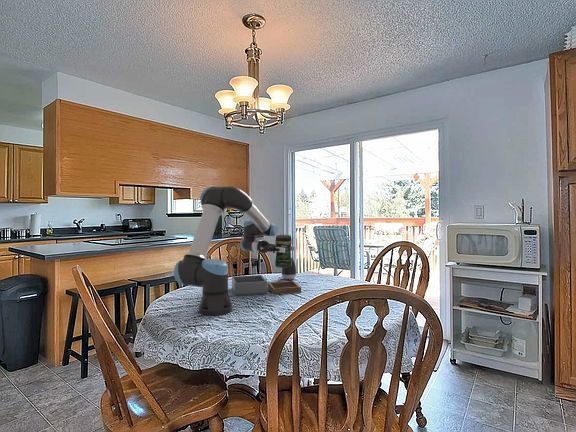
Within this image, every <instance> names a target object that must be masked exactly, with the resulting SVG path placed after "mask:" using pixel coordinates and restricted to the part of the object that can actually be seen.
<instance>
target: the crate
mask: <svg viewBox="0 0 576 432" xmlns="http://www.w3.org/2000/svg"><path fill="white" fill-rule="evenodd" d="M268 282H269V281H268V280H267V279H266V278H265V277H264V276H263V274H257V275H255V274H254V275H253V274H252V275H241V276H240V275H239V276H238V275H237V276H234V275H233V276H231V290H232V293H233V296H234V297H245V296H259V295H268V294H269V292H268V290H269V288H268Z"/></svg>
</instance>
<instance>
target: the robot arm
mask: <svg viewBox="0 0 576 432" xmlns="http://www.w3.org/2000/svg"><path fill="white" fill-rule="evenodd" d="M199 200H200V201H199V202H200V205H201V209H202V210H203V211H202V214H201V216H200V220H199V223H198V225H197V228H196V231H195V234H194V236H193V239H192V242H191V246H190V248H189V251H188V253H185V254H184V256H183V258H182V259H181V260H178V261H177V262H176V264H175V265H174V268H173V276H174V279H175V281H176V283H178V284H179V285H182V286H185V287H189V286H190V287H199V288H201V290H202V292H201V293H202V294H201V295H202V296H201V299H200V301H199V305H198V313H199V315H200V314H201V315H202V316H203V315H204V316H211V317H212V316H213V317H215V316H223V315H227V314H229V313H231V312H232V310H233V305H232V301H231V298H230V295H229V268H228V263H227V262H226V261H224V260H221V259H218V258H217V259H216V258H215V259H213V258H207V255H208V253H209V252H208V251H209V249H210V246H211V243H212V241H213V237H214V233H215V230H216V227H217V226H218V225H217V224H218V222H219V218H220V216H223V214H224V212H225V210H227V209H234V210H237V211H238V212H239V213H240V214H241V213H242V214H243V215H245V217H246V218H247V219H248V220H244V221H243V239H241V240H240V242H239V247H240V249H241V250H243V251H246V252H252V253H253V252H254V253H257V254H259V253H261V254H266V253H269V252H270V253H273V254H274V253H275V254H276V252H282V253H285V248H283V247H277V246H276V243H269V242H268V241H267V240H263V239H262V240H261V239H256V238H257V237H258V236H259V237H261V236H262V237H276V236H277V235H278V232H279V230H278V229H279V228H278V225H277V224H275V223H271V222H270V221H269V220H268V219H267V218H266V217H265V216H264V214H263V213H262V212H261V211H260V210H259V209H258V208H257V206H256V205H255V204H254V201H253V199H252V198H251V197H250V196H249V194H247V193H246V192H244V191H243V190H242V189H240V188H238V187H236V186H232V185H231V186H230V185H228V186H209V187H206V188H204V189H203V190H202V191H201V193H200V197H199ZM292 251H293V252H295V251H296V246H295V245H291V252H292Z"/></svg>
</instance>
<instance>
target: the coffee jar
mask: <svg viewBox="0 0 576 432" xmlns="http://www.w3.org/2000/svg"><path fill="white" fill-rule="evenodd" d="M274 244H276V246H277V247H283V248H285V253H282V252H275V261H274V264H275V265H274V266H275V267H276V268H279V269H280V268H281V269H282V268H288V267H291V266H292V260H291V257H292V251H291V246H292V244H293V239H292V235H289V234H277V235H276V236H275V243H274Z"/></svg>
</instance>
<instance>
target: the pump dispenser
mask: <svg viewBox="0 0 576 432" xmlns="http://www.w3.org/2000/svg"><path fill="white" fill-rule="evenodd" d="M291 260H292V266H291V267H288V268H281V271H280V273H281V275H282V276H281V277H282V278H283V279H285V280H288V279H289V280H293V279H295V278H296V277H297V271H298V270H297V266H296V263H295V262H296V261H295V260H294V258H293V257H292V256H291Z"/></svg>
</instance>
